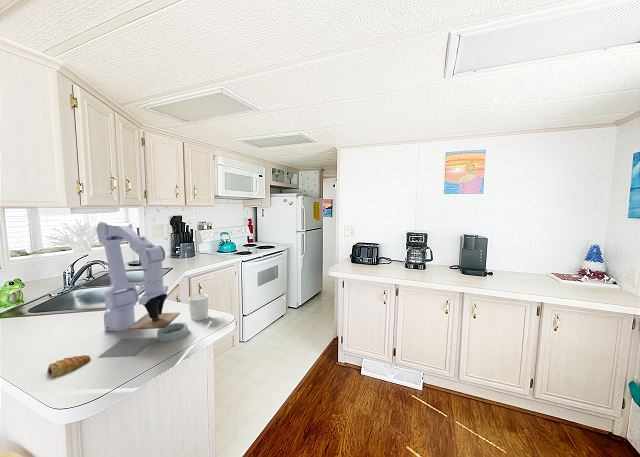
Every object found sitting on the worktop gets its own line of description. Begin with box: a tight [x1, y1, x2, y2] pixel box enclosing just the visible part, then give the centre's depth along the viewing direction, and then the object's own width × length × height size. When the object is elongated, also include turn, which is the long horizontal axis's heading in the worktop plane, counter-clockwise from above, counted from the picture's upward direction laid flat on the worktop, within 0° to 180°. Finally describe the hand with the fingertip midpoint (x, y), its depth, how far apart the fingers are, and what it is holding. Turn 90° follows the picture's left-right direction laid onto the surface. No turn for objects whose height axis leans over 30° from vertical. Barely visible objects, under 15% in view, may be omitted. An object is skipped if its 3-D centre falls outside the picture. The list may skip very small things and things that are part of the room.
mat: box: [96, 336, 157, 359], centre depth 89 cm, size 12×12×1 cm
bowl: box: [156, 321, 189, 342], centre depth 98 cm, size 10×10×3 cm
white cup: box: [187, 293, 209, 322], centre depth 113 cm, size 8×8×10 cm
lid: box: [127, 308, 181, 331], centre depth 94 cm, size 12×12×5 cm
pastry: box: [47, 354, 92, 378], centre depth 78 cm, size 9×7×4 cm
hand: (155, 316), depth 94 cm, fingers closed on lid, 2 cm apart
